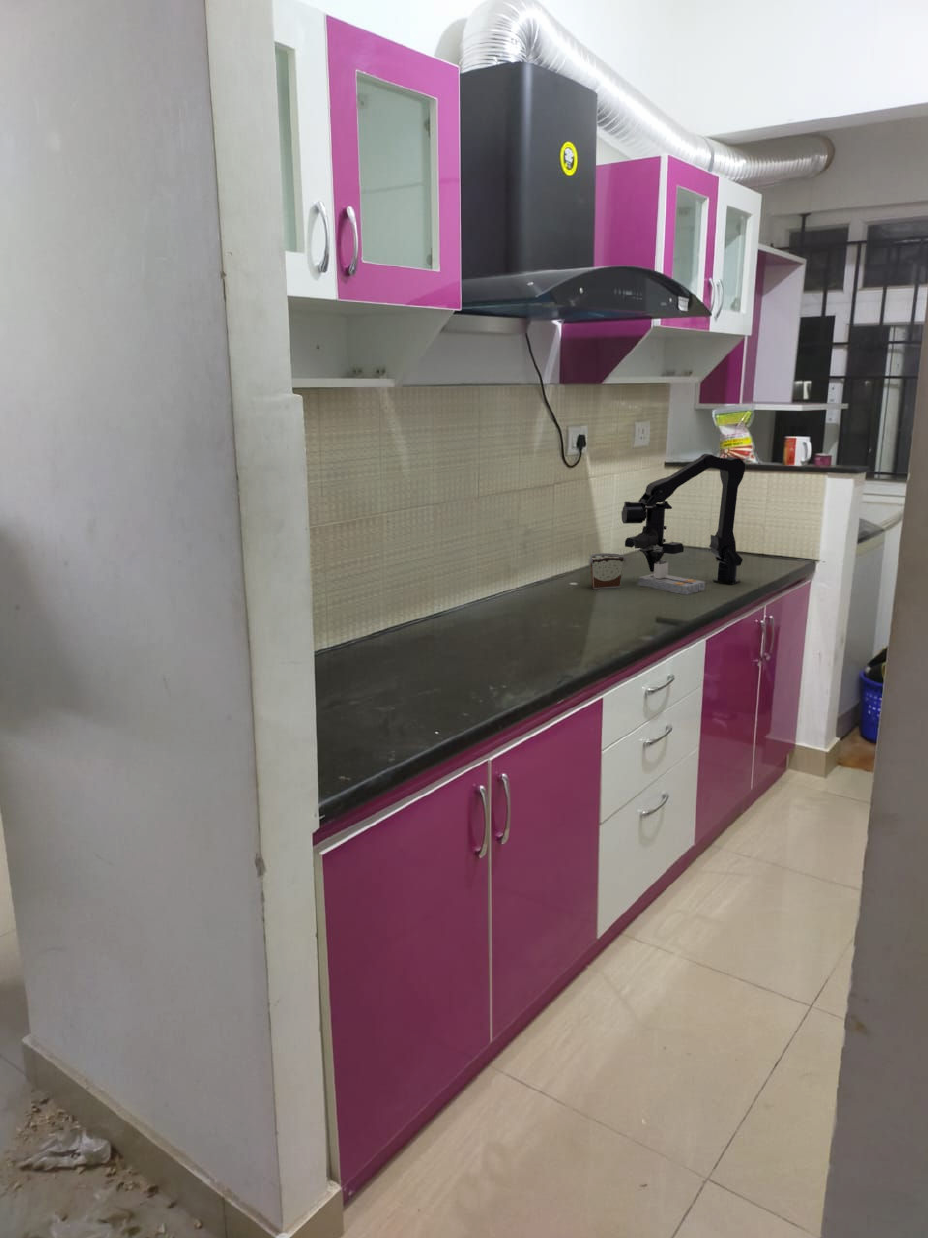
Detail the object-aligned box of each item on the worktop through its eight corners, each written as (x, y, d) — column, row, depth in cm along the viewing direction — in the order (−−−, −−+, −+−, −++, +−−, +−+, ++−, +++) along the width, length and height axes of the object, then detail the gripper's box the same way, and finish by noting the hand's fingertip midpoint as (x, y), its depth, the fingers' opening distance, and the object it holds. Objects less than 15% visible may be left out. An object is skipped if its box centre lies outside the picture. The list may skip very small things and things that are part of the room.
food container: (615, 582, 295) (616, 551, 292) (624, 586, 289) (626, 555, 286) (580, 585, 291) (581, 554, 288) (589, 589, 285) (590, 557, 283)
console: (655, 580, 298) (656, 572, 297) (704, 589, 285) (705, 581, 285) (637, 585, 291) (638, 577, 290) (686, 594, 279) (687, 586, 278)
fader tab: (660, 575, 293) (661, 559, 291) (667, 576, 291) (668, 560, 290) (653, 577, 290) (654, 561, 288) (660, 578, 288) (661, 562, 287)
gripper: (615, 522, 289) (613, 570, 293) (665, 529, 276) (662, 580, 280) (636, 518, 297) (633, 566, 301) (686, 525, 284) (682, 574, 288)
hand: (652, 571), depth 292 cm, fingers closed
